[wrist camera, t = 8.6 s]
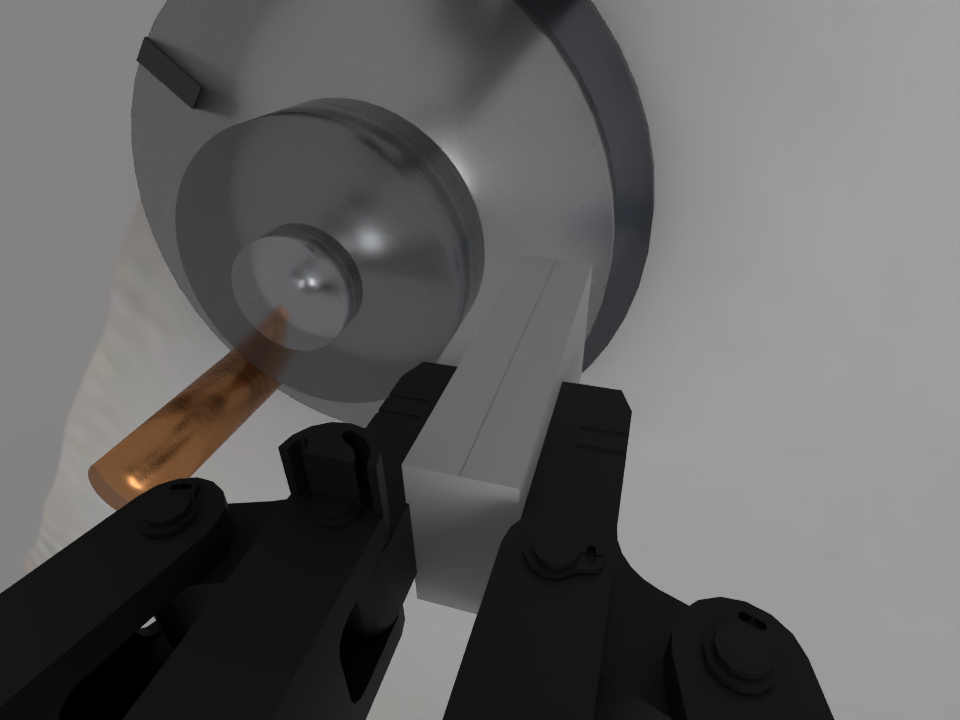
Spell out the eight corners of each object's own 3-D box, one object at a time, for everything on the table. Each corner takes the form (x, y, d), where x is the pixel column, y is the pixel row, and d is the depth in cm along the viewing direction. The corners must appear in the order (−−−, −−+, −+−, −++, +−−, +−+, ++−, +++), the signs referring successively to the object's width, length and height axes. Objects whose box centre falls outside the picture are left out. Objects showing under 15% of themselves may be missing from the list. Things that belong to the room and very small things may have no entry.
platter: (108, 229, 23) (-130, 333, 16) (286, -245, 14) (-97, -464, 7) (415, 478, 26) (319, 656, 19) (737, 219, 17) (777, 387, 10)
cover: (203, 238, 20) (108, 290, 17) (313, 26, 16) (210, 39, 12) (390, 393, 22) (335, 470, 18) (542, 242, 17) (507, 307, 14)
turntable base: (115, 207, 25) (92, 216, 24) (305, -305, 14) (278, -325, 14) (438, 472, 28) (429, 490, 27) (784, 202, 17) (791, 215, 16)
